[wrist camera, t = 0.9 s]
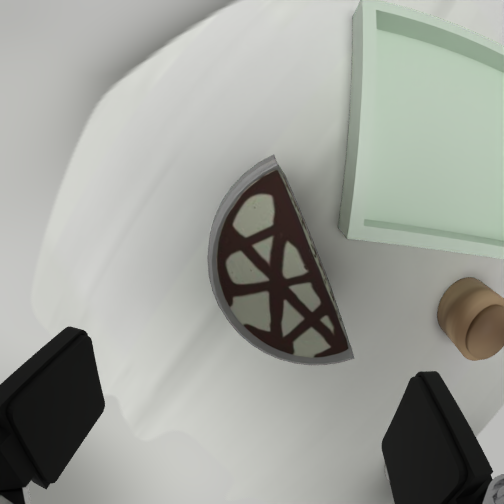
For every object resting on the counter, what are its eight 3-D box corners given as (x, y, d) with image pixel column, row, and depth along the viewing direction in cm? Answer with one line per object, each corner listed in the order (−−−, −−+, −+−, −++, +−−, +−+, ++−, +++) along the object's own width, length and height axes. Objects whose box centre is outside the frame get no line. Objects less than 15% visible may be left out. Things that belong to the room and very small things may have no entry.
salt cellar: (475, 334, 26) (502, 363, 20) (429, 333, 26) (453, 366, 21) (492, 279, 24) (525, 302, 19) (446, 274, 25) (477, 300, 19)
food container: (206, 190, 25) (158, 206, 16) (277, 157, 24) (272, 152, 14) (268, 321, 28) (258, 396, 18) (334, 296, 26) (356, 365, 17)
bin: (506, 251, 23) (530, 263, 20) (338, 227, 25) (347, 238, 21) (518, 74, 18) (542, 68, 15) (352, 17, 20) (362, -4, 16)
